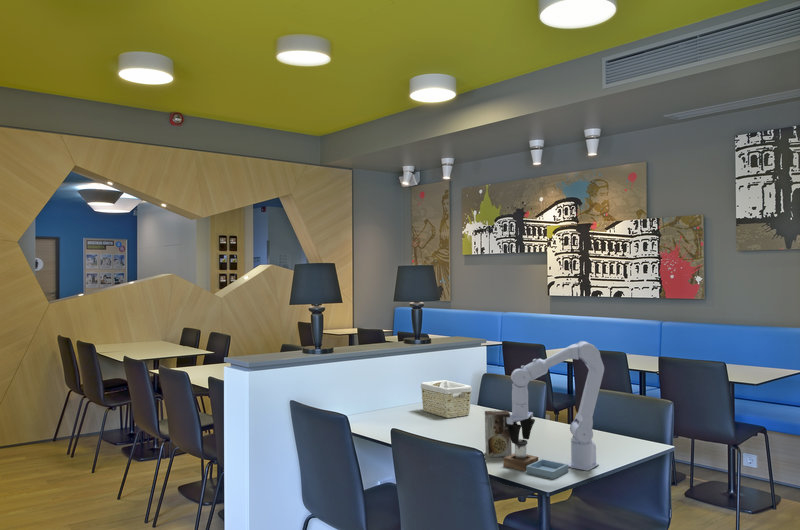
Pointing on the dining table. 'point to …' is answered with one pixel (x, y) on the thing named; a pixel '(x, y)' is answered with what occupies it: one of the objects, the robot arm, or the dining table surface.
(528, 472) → the slate-blue tray
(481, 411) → the dining table surface
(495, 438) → the coffee box
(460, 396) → the storage basket
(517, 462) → the wooden square frame
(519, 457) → the glass jar
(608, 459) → the dining table surface
